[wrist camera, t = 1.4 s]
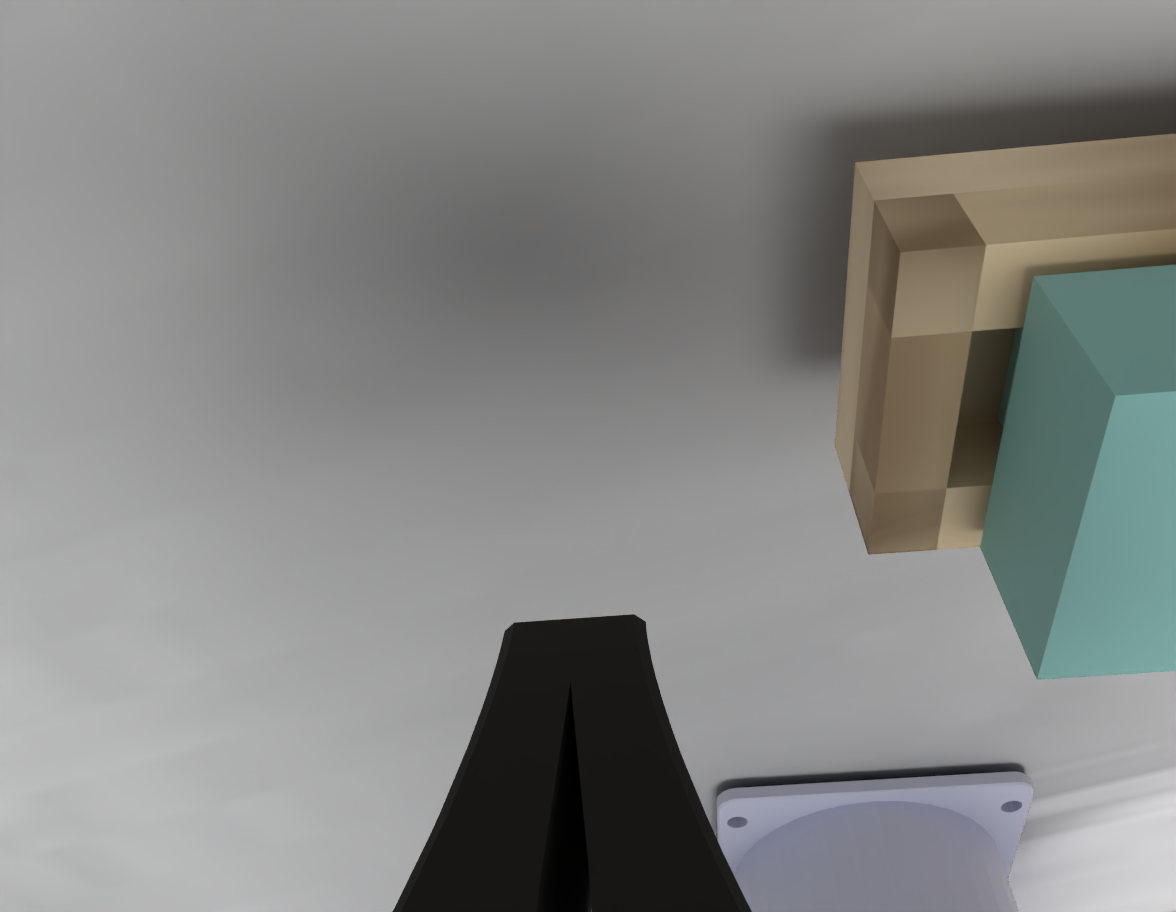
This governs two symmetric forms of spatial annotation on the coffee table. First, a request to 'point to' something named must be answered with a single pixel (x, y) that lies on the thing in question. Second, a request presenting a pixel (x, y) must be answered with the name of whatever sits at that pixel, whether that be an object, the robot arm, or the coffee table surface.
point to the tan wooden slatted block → (969, 310)
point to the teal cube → (1090, 475)
